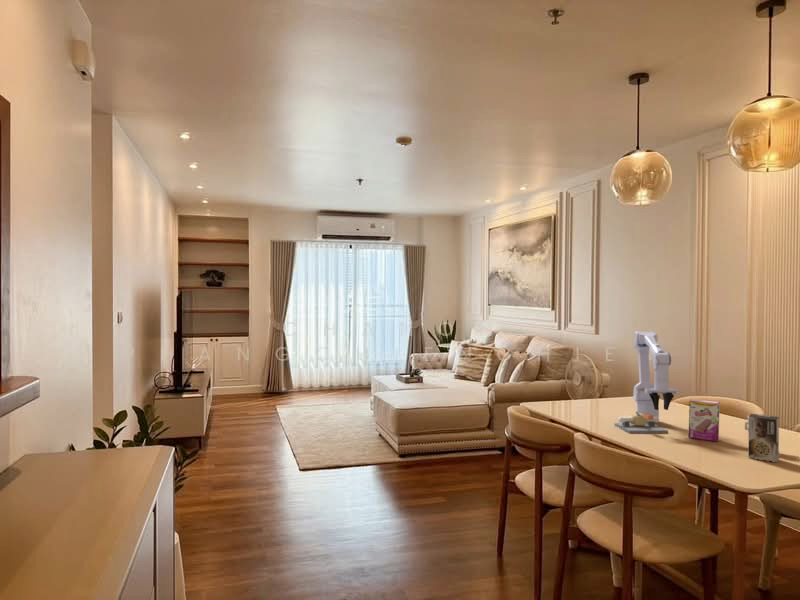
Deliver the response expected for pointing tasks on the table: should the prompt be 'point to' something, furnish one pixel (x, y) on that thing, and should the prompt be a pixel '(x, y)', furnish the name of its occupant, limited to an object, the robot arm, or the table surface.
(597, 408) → the table surface
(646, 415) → the valve lever
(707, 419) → the candy bar box
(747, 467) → the table surface
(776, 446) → the coffee box
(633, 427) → the valve board
